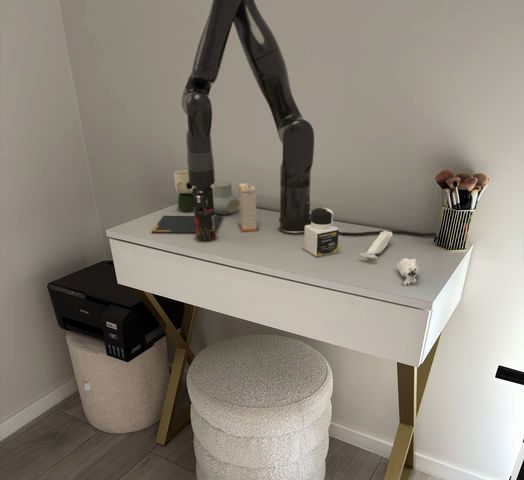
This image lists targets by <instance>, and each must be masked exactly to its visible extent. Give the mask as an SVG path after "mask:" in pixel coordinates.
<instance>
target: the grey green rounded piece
mask: <svg viewBox="0 0 524 480" xmlns="http://www.w3.org/2000/svg"><path fill="white" fill-rule="evenodd" d="M232 188H233V187H232V183H231V182H230V181H223V180H222V181H217V182H216V181H215V183H214V184H213V189H214V190H213V193H214V194H213V202H214V214H217V215H223V216H225V215H226V216H228V215H232V214H233V213H235V212H236V211H237V210H239V208H240V207H239V197H236V196H235V195H234V194H233V190H232Z"/></svg>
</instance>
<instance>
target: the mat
mask: <svg viewBox="0 0 524 480" xmlns="http://www.w3.org/2000/svg"><path fill="white" fill-rule="evenodd" d="M214 218H215V233H216V232H217V230H218V228H219V225H220V223H221V220H222V218H223V216H221V215H214ZM151 233H152V234H181V235H182V234H183V235H184V234H185V235H186V234H190V235H192V234H193V235H196V226H195V215H163V216H162V217H161V219H160V220H159V221H158V223H157V224H156V225H155V227H153V229H152V230H151Z"/></svg>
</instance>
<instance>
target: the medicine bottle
mask: <svg viewBox="0 0 524 480" xmlns="http://www.w3.org/2000/svg"><path fill="white" fill-rule="evenodd" d="M310 214H311V225H305V233H303V234H304V237H303V239H304V240H303V242H304V243H303V244H304V245H303V249H304V250H305V251H307V252H308V253H310V254H312V255H313V256H315V257H322V256H326V255H331V254H335V253H338V249H339V247H338V245H339V234H338V233H339V232H340V229H339V227H337V226H335V225H333V224H334V223H333V222H334V211H333V210H332V209H330V208H328V207H317V208H315V209H312V210H311V211H310Z"/></svg>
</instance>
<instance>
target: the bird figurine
mask: <svg viewBox="0 0 524 480" xmlns="http://www.w3.org/2000/svg"><path fill="white" fill-rule="evenodd" d="M396 269H397V270H398V272H399V274H400V275H401V277H404V278H405V280H404V281H403V285H404V286H406V285H407V286H408V285H410V284H411V283H412V284H413V285H417V284H416V282H417V279H416V278H415V277H416V276H417V275H419V274H420V273H421V272H420V269H419V265H418V263H417V259H416V258H411V259H410V258H409V257H408V258H407V257H405V258H402V259H401V260H400V261H399V262H398V264H397V267H396Z"/></svg>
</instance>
